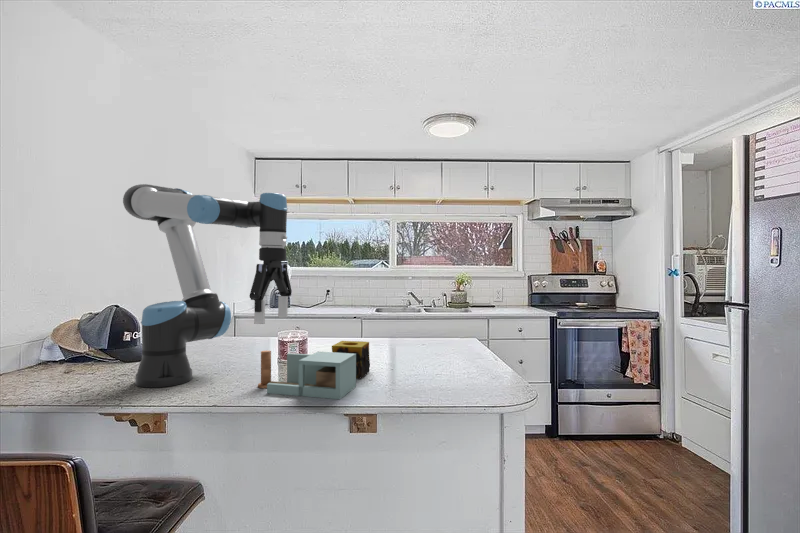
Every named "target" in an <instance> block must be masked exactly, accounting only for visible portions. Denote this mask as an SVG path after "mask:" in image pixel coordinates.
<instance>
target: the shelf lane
mask: <svg viewBox="0 0 800 533" xmlns="http://www.w3.org/2000/svg"><path fill="white" fill-rule="evenodd" d="M323 367H336V388H329V387H316V386H305V384H314V385H316V371H318V370H320V369H322V368H323ZM286 382H288V383H299V385H290V384H277V383H268V384H267V388H266V393H267V394H273V395H275V394H276V395H285V396H295V397H296V396H297V397H309V398H320V399H321V398H322V399H332V400H341V399H342V398H343V397H345V396H346V395H347V394H349V392H351V391H352V390H354V389H355V388H356V386H357V379H356V354H353V353H336V352H332V351H317V352H314V353H312V354H310V353H309V354H308V353H295V352H294V353H293V352H292V353H291V352H288V353H287V354H286Z"/></svg>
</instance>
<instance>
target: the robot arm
mask: <svg viewBox="0 0 800 533" xmlns="http://www.w3.org/2000/svg"><path fill="white" fill-rule="evenodd" d="M122 197H123V198H122V203H123V206H124V209H125V210H126V212H127V213H128V214H129V215H131V216H132V217H134V218H137V219H139V220H143V221H144V220H145V221H153V222H156V223H157V226H158V230H159V231H161V232H162V233H164V234H165V236H166V239H167V244H168V247H169V251H170V253H171V257H172V261H173V265H174V268H175V272H176V275H177V280H178V284H179V286H180V290H181V293H182V300H170V301H163V302H156V303H153V304H150V305H148V306H146V307H145V308H144V309H143V310H142V314H141V315H142V316H141V321H140V322H141V354H142V355H141V359H140V363H139V365H138V368H137V373H136V374H135V376H134V378H135V379H134V381H135V382H134V385H135V386H136V387H140V388H165V387H166V388H167V387H171V386H177V385H182V384H185V383H188V382H190V381H191V380H193V370H192V368H191V365H190V362H189V359H188V355H187V343H190V342H191V343H192V342H197V341H203V340H213V339H214V338H219V337H222V336H224V335H225V334H226V333H227V331H228V329H229V328H230V325H231V320H232V312H231V309H230V306H229V305H228V303H226V302H223V301H222V300H221V301H220V299H219V296H218V293H217V292H215V291H213V290H212V289H211V286H210V283H209V279H208V275H207V273H206V269H205V264H204V262H203V258H202V255H201V251H200V248H199V245H198V241H197V238H196V234H195V230H194V226H195V225H196V223H199V224H204V225H218V226H231V227H236V228H242V229H247V228H259V230H258V231H259V238H258V240H259V242H258V245H259V246H260V247H259V249H258V259H259V260H260V262H262V261H263V263H256V266H255V275H254V279H253V281H252V285H251V289H250V293H249V298H250V301H254V311H253V312H254V318H253V319H254V321H253V322H254V323H253V324H255V325H265V324H266V323H265V322H266V300H265V299H264V298H265V296H266V294H267V291H268V288H269V286H270V284H271V282H272V281H273V282H274V283H275V286H276V288H277V291H278V293H279V295H278V299H277V300H278V302H277V303H278V306H277V309H278V310H277V317H278V318H280V319H281V318H282V319H287V318H288V311H289V310H288V304H289V301H288V299H289V297H292V292H293V291H292V285H291V281H290V277H289V273H288V264H287V263H282V262H285V261H286V260H287V249H286V248H285V247H286V246H287V239H288V236H287V216H288V204H287V196H286V195H285V194H284V193H283V194H282V193H277V192H263V193H261V194H260V196H259V200H258V201H244V200H238V199H237V200H236V199H232V198H225V197H224V198H223V197H218V196H212V195H206V194H193V193H192V192H191V191H188V190H183V189H181V188H176V187H175V188H174V187H173V188H172V187H165V186H159V185H152V184H147V183H145V184H144V183H143V184H141V183H140V184H136V185H133V186H131V187H129V188H128V189H127V190H126V191H125V192H124V194H123V196H122Z"/></svg>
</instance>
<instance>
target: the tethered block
mask: <svg viewBox="0 0 800 533" xmlns="http://www.w3.org/2000/svg"><path fill="white" fill-rule="evenodd" d="M268 383H277V384H290V385H299V383H288V382H287V381H274V380H273V381H272V350H268V349H267V350H262V351H260V382H259V383H258V384H257V388H259V389H267V384H268ZM305 386H316V387H329V388H336V367H323V368H322V369H320V370H318V371H316V385H314V384H305Z"/></svg>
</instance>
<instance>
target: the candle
mask: <svg viewBox="0 0 800 533" xmlns="http://www.w3.org/2000/svg"><path fill="white" fill-rule="evenodd" d="M331 352H336V353H353V354H356V380H362V379H363V378H364V377H366V375H368V373H370V368H371V367H370V366H371V363H370V361H371V360H370V342H369V341H362V340H361V341H359V340H358V341H357V340H341V341H339V342H337V343H334V344H333V345H331Z"/></svg>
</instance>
